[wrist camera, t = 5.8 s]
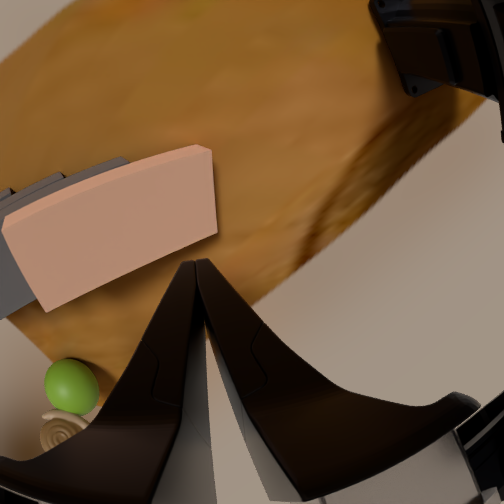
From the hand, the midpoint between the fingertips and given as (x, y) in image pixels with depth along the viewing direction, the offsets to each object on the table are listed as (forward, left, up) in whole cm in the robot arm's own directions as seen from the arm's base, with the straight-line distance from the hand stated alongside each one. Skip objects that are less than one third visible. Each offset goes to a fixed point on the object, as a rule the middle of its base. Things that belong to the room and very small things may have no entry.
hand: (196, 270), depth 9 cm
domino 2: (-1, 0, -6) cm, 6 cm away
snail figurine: (+19, +7, -7) cm, 22 cm away
